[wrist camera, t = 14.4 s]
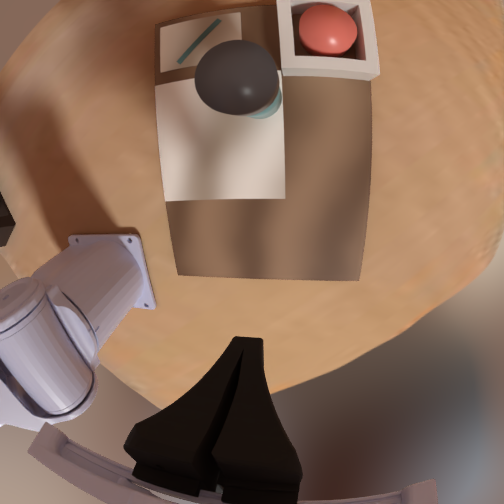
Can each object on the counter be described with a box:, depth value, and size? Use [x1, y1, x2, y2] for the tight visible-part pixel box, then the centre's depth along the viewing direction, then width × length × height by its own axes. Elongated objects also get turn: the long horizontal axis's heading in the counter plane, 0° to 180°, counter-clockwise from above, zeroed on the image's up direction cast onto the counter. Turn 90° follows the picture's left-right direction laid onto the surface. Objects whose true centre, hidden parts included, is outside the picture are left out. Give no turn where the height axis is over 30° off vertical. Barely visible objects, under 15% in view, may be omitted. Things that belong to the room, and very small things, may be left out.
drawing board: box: [155, 5, 372, 281], centre depth 18 cm, size 15×21×1 cm
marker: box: [194, 40, 282, 119], centre depth 12 cm, size 3×3×8 cm
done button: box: [299, 5, 357, 58], centre depth 12 cm, size 3×3×2 cm
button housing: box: [276, 0, 380, 81], centre depth 12 cm, size 6×6×2 cm
